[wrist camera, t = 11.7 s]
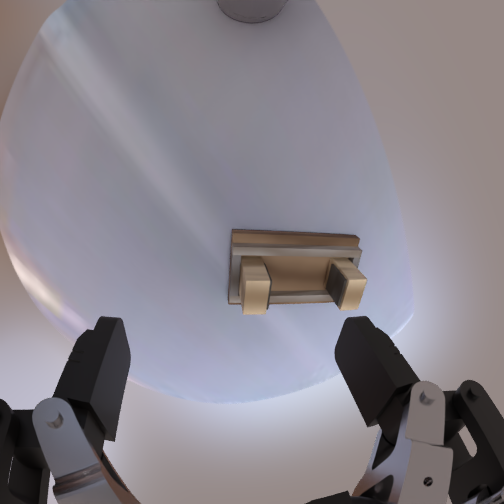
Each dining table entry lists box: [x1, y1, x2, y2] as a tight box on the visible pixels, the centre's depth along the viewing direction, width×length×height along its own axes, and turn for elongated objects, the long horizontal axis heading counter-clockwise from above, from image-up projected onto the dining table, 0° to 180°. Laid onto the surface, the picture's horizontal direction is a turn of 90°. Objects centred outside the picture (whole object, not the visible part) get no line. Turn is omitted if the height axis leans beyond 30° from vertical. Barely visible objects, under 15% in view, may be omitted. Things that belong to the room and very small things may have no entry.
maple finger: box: [324, 257, 367, 311], centre depth 40 cm, size 5×3×7 cm, turn 175°
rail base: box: [228, 229, 362, 314], centre depth 40 cm, size 12×20×8 cm, turn 85°
